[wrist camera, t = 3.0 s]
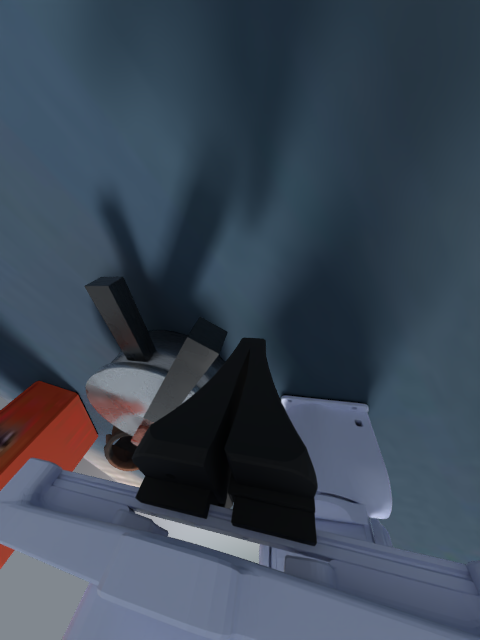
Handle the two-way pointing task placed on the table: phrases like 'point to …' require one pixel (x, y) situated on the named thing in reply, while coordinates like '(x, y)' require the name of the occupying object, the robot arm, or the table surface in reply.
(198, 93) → the table surface
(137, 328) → the cooker pot
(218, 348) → the cooker lid
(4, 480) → the file binder
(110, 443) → the pottery mug
